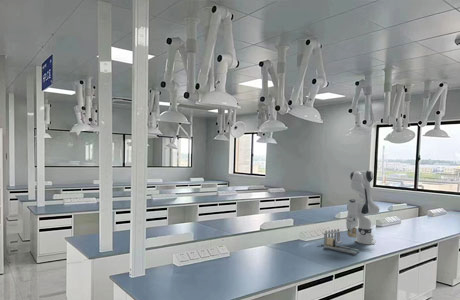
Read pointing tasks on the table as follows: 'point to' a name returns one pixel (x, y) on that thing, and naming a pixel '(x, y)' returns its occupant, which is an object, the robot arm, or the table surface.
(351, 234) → the wooden block
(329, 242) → the rail
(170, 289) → the table surface
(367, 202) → the robot arm
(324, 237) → the test tube rack
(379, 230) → the table surface
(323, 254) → the table surface
